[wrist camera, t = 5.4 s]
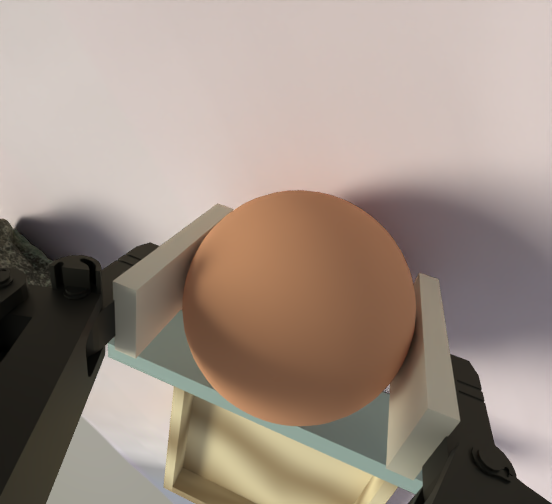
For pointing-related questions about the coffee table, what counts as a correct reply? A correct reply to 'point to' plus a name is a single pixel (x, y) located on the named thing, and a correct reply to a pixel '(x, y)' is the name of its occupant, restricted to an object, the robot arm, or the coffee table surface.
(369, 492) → the tray
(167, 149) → the coffee table surface
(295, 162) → the coffee table surface
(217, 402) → the wall
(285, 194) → the ball
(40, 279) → the stone
